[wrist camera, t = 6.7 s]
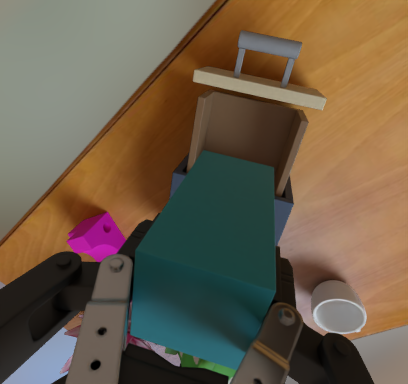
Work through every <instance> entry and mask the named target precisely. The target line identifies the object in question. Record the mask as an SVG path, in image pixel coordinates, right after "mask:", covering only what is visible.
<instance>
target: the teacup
mask: <svg viewBox="0 0 408 384" xmlns="http://www.w3.org/2000/svg"><path fill="white" fill-rule="evenodd" d="M311 310H312V316H313V319H314V321H315V322H316V324H317V325H318V326H319V327H321V328H322V329H324V330H326V331H328V332H332V333H338V334H348V333H353V332H360V329H361V328H362V327H363V326H364V325H365V323H366V311H365V308H364V306H363V304H362V301H361V299H360V298H359V296H358V294H357V293H356V292H355V290H354V289H353V288H352V287H351V286H349V285H348V284H346V283H344V282H341V281H336V280H329V281H325V282H322V283H320V284H319V285H318V286H317V287H316V288H315V289H314V291H313V293H312V298H311Z"/></svg>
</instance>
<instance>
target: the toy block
mask: <svg viewBox="0 0 408 384" xmlns="http://www.w3.org/2000/svg"><path fill="white" fill-rule="evenodd" d="M68 235H69V237H70V238H69V239H68V240H67V243H68V244H69V245H70V247H71V248H72V249H73V251H74V252H75V253H81V252H84V253H87V254H89V255H91V256H92V257H93V258H94V259H95V260H96V261H97V262H101V261H102V260H103V259H104V258H105V257H107V256H109V255H112V254H116V253H117V252H118V251H119V249H120V248H121V247H122V245H123V244H124V243H125V241H126V240H125V238H124V236H123V235H122V233H121V232H120V230H119V229H118V227H117V226H116V224H115V223H114V221H113V220H112V218H111V216H110V215H109V213H108V212H106V213H103V214H100V215H97V216H94V217H91V218H88V219H85V220H83V221H82V222H81V223H79V224H78V225H77V226H76V227H75V228H74V229H73V230H72V231H71V232H69V233H68Z"/></svg>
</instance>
